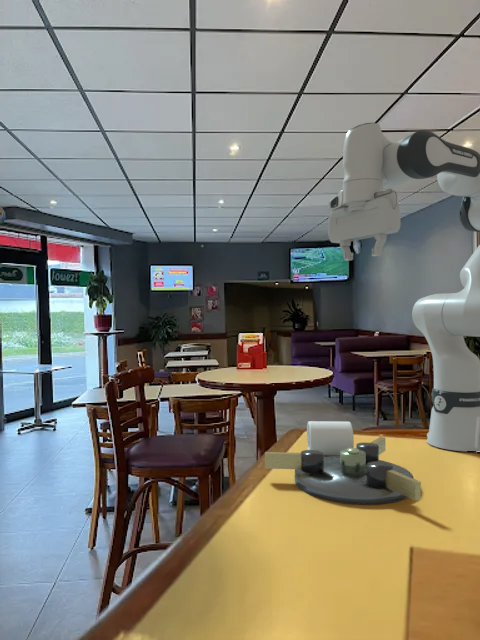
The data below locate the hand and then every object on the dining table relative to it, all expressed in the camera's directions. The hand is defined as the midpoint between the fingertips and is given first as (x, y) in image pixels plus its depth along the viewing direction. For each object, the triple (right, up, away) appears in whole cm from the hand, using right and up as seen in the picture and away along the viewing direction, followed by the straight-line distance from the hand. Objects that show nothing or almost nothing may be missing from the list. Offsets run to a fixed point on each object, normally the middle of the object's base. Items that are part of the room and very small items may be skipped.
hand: (362, 258), depth 112 cm
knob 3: (0, -44, -24) cm, 50 cm away
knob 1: (-17, -44, -12) cm, 49 cm away
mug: (-6, -46, +8) cm, 48 cm away
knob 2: (+2, -44, -4) cm, 44 cm away
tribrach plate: (-5, -46, -13) cm, 48 cm away
